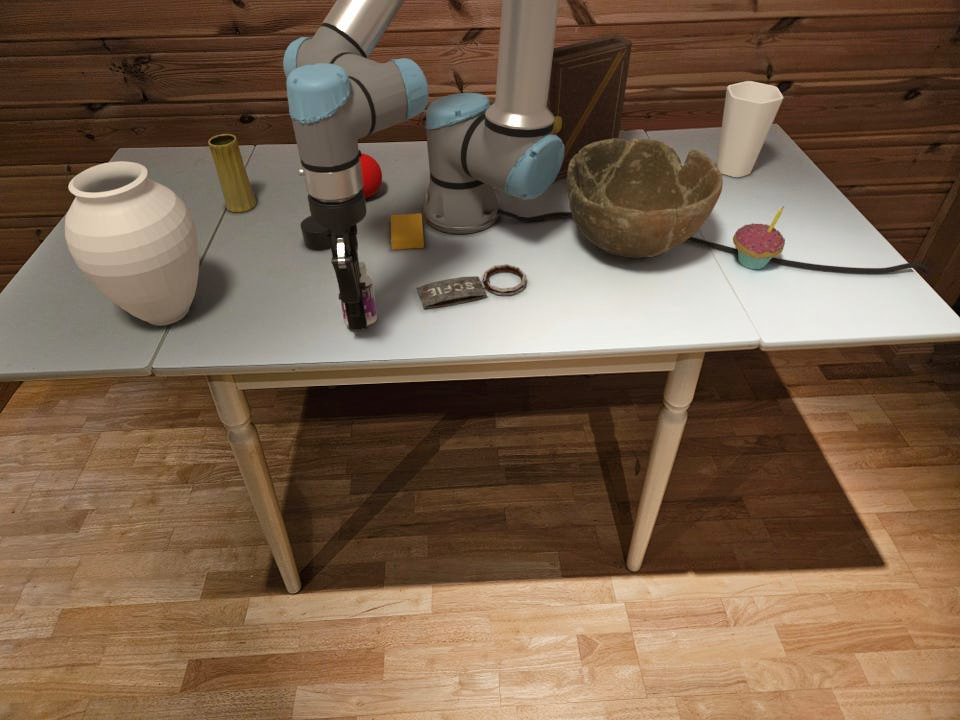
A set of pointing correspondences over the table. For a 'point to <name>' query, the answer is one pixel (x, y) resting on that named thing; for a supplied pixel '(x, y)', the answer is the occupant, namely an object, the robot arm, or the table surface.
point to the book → (588, 92)
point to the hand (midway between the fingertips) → (358, 326)
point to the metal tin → (314, 235)
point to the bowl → (640, 195)
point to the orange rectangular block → (407, 231)
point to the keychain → (466, 288)
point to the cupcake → (758, 243)
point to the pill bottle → (364, 297)
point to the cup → (746, 125)
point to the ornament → (370, 174)
